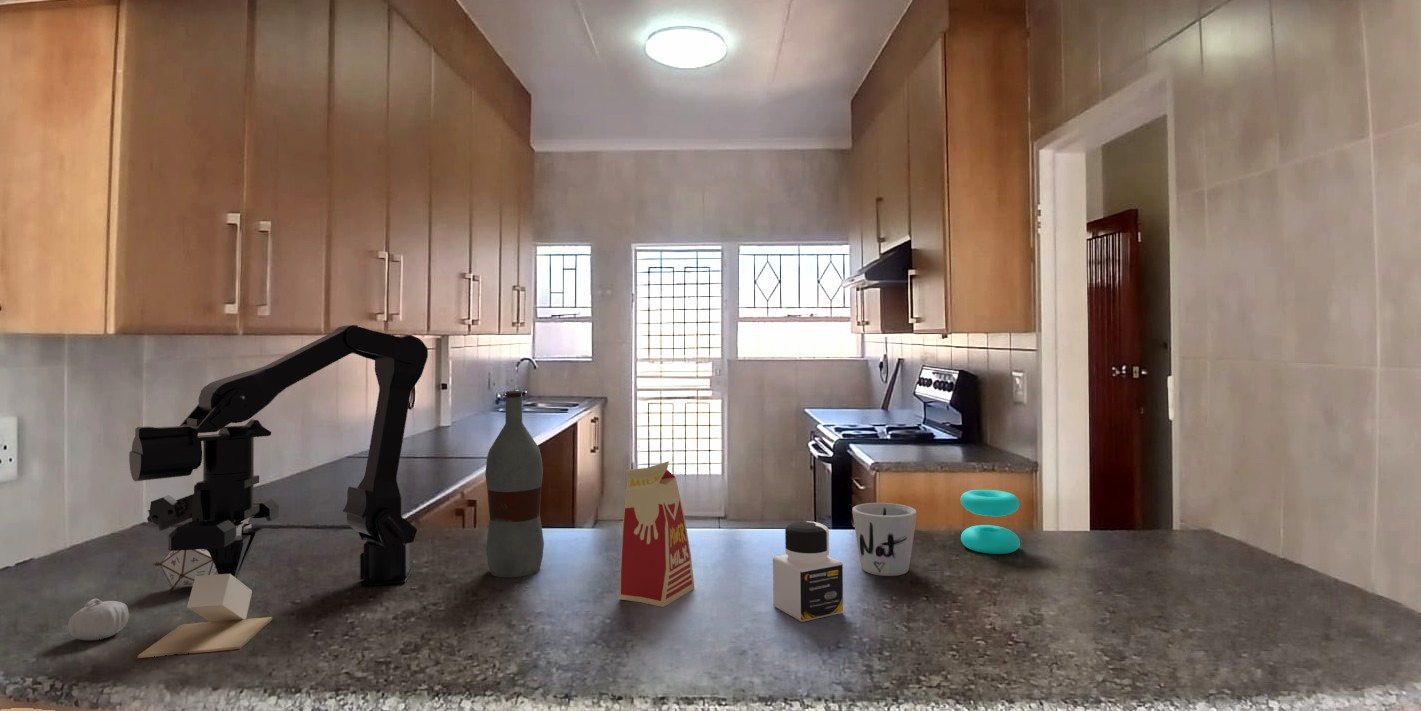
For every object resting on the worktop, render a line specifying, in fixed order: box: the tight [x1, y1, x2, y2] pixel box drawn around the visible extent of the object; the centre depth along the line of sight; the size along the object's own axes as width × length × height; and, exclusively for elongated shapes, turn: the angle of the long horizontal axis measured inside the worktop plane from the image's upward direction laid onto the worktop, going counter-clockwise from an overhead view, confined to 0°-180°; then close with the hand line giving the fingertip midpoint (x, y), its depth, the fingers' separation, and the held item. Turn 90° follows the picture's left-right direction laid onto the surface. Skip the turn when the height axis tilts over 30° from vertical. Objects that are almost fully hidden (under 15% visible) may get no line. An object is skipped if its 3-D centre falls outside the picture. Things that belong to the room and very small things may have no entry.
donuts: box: [960, 489, 1021, 555], centre depth 127 cm, size 10×10×10 cm
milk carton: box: [618, 461, 695, 608], centre depth 105 cm, size 9×9×20 cm
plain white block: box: [186, 573, 253, 622], centre depth 93 cm, size 4×4×8 cm
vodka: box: [484, 390, 545, 579], centre depth 117 cm, size 9×9×30 cm
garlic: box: [67, 598, 130, 641], centre depth 90 cm, size 6×5×5 cm
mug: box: [851, 502, 918, 577], centre depth 117 cm, size 10×15×10 cm
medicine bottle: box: [772, 520, 844, 623], centre depth 97 cm, size 7×7×12 cm
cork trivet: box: [137, 616, 273, 659], centre depth 90 cm, size 11×10×1 cm
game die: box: [152, 549, 217, 594], centre depth 109 cm, size 9×8×10 cm
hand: (228, 585), depth 96 cm, fingers closed
